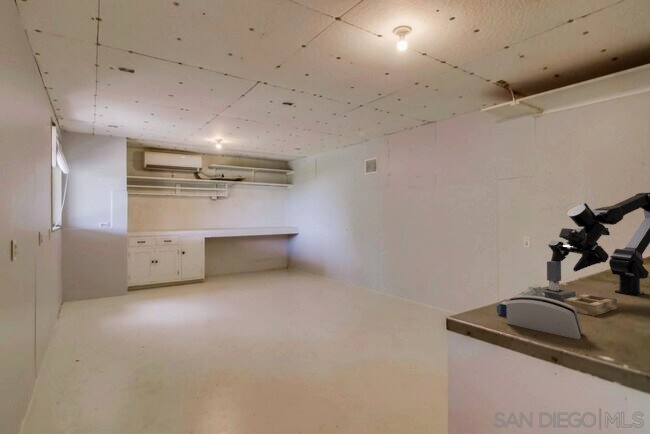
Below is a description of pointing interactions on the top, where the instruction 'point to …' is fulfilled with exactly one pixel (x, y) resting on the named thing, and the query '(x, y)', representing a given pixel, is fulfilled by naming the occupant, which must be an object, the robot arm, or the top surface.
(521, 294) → the white bulb-headed handheld tool
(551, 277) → the tall grey square pillar
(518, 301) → the grey arched slab
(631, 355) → the top surface
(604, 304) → the rack
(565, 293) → the socket
